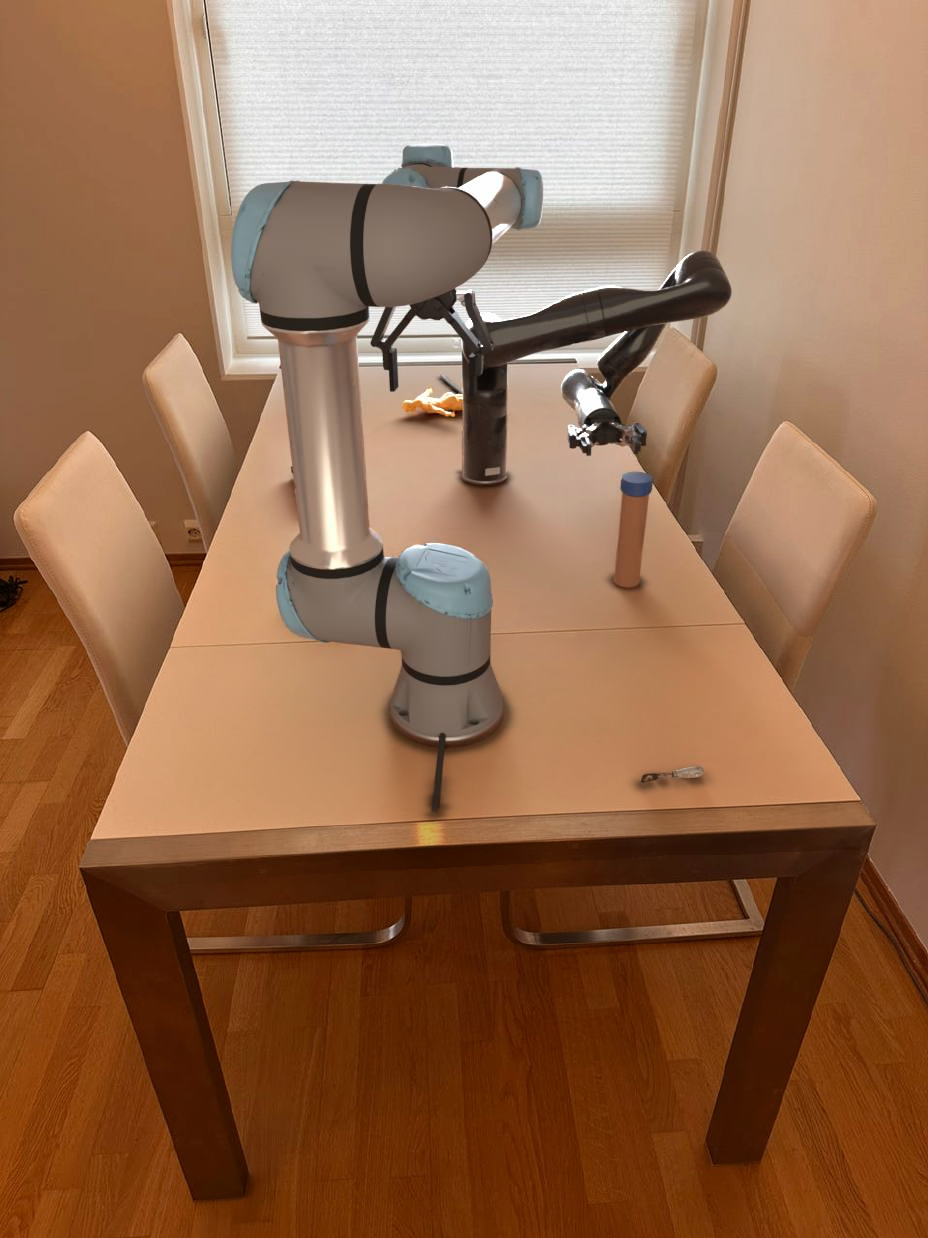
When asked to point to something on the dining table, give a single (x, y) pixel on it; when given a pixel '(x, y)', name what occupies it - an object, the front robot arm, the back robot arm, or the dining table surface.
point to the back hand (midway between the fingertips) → (613, 449)
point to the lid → (636, 484)
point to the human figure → (435, 403)
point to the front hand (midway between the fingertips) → (433, 391)
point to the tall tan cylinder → (630, 540)
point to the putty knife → (674, 774)
